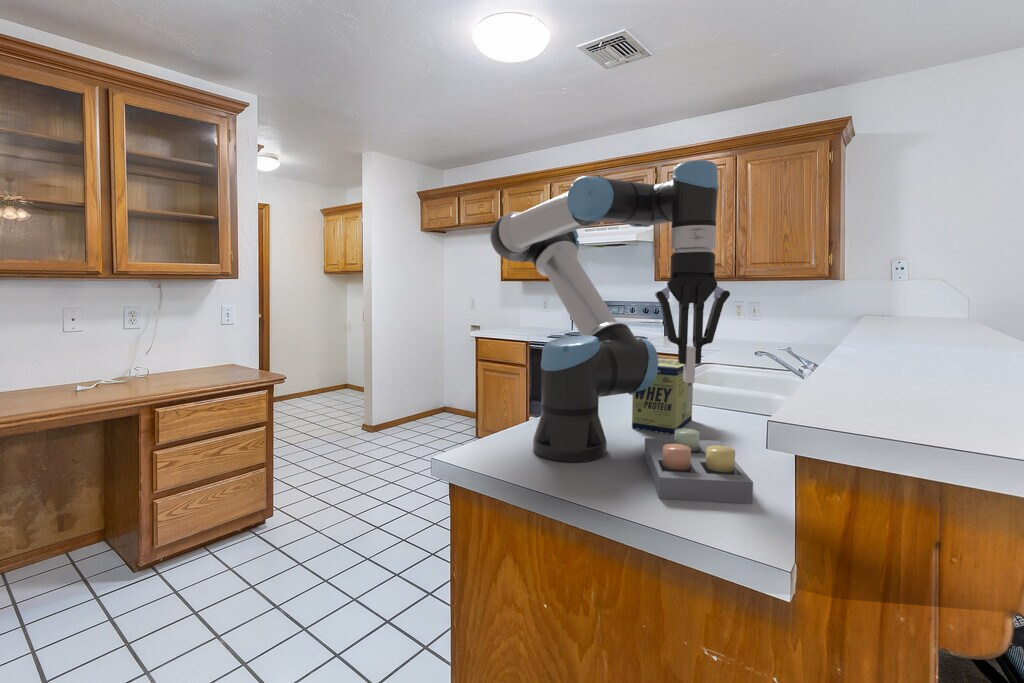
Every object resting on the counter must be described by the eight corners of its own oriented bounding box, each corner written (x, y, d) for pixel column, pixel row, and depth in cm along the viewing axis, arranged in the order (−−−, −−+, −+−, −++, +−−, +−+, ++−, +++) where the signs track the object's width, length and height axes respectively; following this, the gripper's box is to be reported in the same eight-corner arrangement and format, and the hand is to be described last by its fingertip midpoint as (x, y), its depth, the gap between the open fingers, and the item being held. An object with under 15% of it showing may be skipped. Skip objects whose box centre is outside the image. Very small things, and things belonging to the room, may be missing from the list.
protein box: (631, 428, 119) (632, 364, 117) (652, 414, 132) (653, 356, 130) (675, 435, 113) (677, 368, 111) (692, 420, 126) (694, 359, 124)
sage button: (676, 450, 91) (676, 434, 91) (672, 443, 95) (672, 427, 95) (701, 451, 90) (701, 435, 90) (696, 444, 95) (696, 428, 94)
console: (659, 498, 79) (659, 477, 79) (644, 455, 100) (644, 438, 99) (752, 503, 77) (753, 482, 77) (717, 458, 98) (718, 440, 97)
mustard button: (709, 471, 81) (710, 453, 80) (703, 461, 85) (703, 444, 85) (737, 472, 80) (738, 454, 80) (730, 463, 84) (731, 446, 84)
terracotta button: (664, 469, 82) (665, 451, 82) (661, 460, 86) (661, 443, 86) (692, 470, 81) (693, 452, 81) (687, 461, 85) (688, 444, 85)
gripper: (658, 251, 86) (655, 384, 89) (737, 249, 84) (731, 386, 87) (652, 254, 94) (649, 377, 96) (725, 252, 92) (720, 378, 94)
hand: (688, 381), depth 92 cm, fingers closed
